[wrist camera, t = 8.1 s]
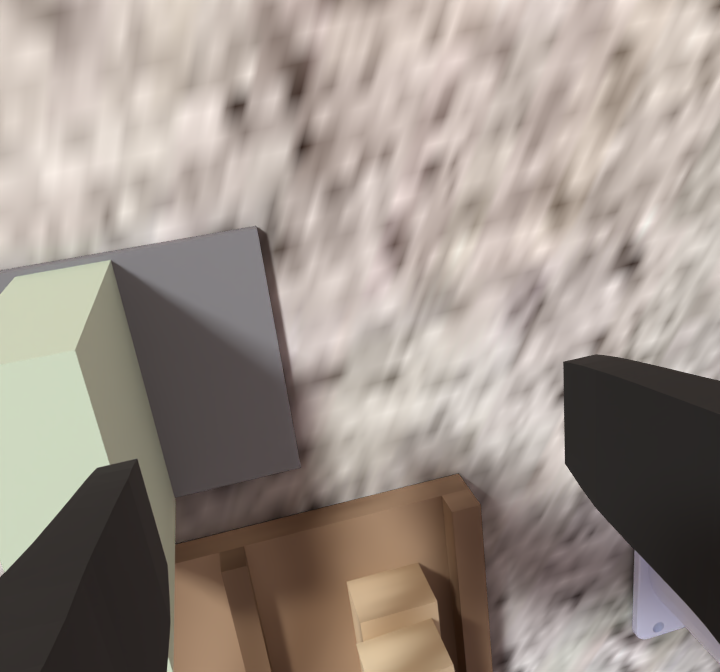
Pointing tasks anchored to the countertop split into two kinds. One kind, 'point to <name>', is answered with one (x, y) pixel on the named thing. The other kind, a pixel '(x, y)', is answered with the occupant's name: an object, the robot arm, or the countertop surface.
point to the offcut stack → (397, 622)
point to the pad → (204, 355)
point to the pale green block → (72, 405)
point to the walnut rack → (329, 582)
